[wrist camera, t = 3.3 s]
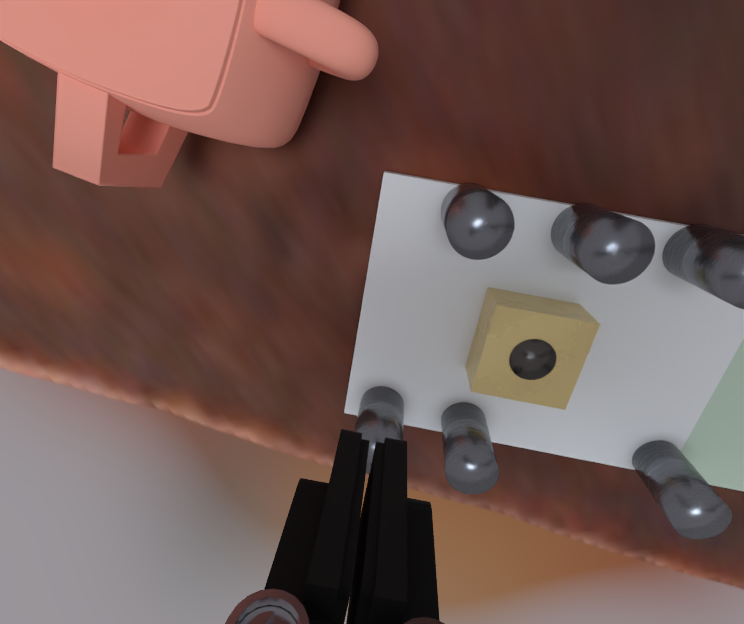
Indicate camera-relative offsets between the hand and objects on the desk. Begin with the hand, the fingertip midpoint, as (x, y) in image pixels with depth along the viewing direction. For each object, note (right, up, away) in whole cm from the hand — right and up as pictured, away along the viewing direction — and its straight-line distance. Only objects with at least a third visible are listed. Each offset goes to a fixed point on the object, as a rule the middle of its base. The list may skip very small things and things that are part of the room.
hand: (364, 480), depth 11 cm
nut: (+8, +3, +10) cm, 13 cm away
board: (+13, +3, +11) cm, 17 cm away
